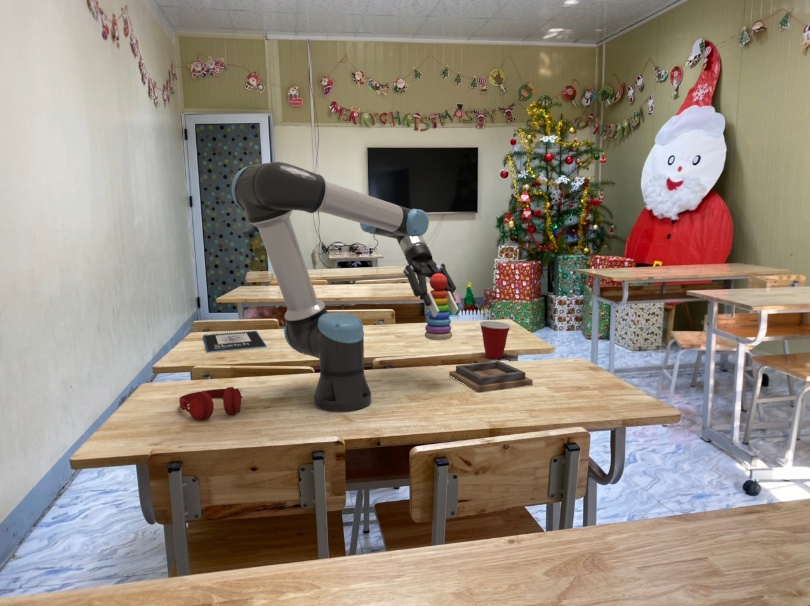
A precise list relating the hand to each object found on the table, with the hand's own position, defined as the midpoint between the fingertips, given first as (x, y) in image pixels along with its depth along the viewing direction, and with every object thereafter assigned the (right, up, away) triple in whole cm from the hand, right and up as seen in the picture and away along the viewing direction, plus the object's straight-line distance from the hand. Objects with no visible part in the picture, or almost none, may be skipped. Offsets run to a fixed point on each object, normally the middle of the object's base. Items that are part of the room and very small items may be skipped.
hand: (446, 312), depth 167 cm
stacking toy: (-2, -8, +4) cm, 9 cm away
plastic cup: (+20, -16, +38) cm, 46 cm away
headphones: (-62, -25, -12) cm, 68 cm away
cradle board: (+14, -20, +10) cm, 27 cm away
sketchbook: (-79, -13, +67) cm, 104 cm away
